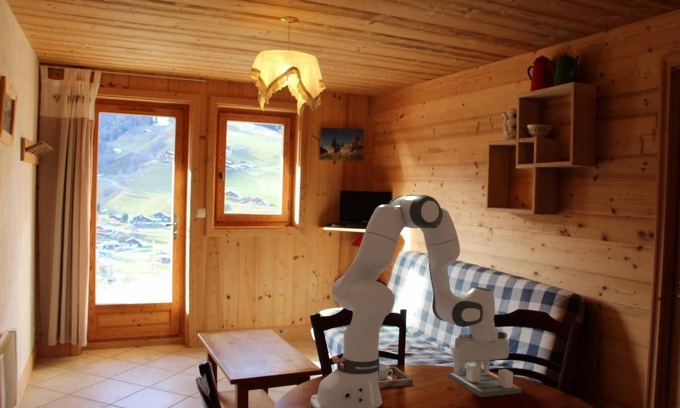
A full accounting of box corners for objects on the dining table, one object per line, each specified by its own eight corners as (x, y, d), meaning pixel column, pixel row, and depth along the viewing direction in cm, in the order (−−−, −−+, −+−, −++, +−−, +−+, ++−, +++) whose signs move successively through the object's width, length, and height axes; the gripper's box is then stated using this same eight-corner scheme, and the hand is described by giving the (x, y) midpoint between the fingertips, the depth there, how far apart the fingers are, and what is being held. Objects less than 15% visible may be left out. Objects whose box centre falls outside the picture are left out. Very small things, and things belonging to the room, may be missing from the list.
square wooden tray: (372, 388, 186) (372, 382, 186) (357, 374, 200) (357, 369, 200) (412, 384, 190) (412, 379, 190) (394, 371, 204) (395, 366, 204)
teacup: (361, 382, 193) (362, 368, 193) (368, 373, 202) (368, 361, 202) (389, 385, 190) (390, 372, 190) (395, 376, 199) (395, 363, 199)
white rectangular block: (472, 382, 188) (472, 367, 188) (466, 378, 192) (466, 364, 192) (479, 381, 189) (480, 367, 189) (473, 377, 193) (474, 363, 193)
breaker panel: (480, 397, 180) (480, 377, 180) (448, 377, 200) (448, 359, 200) (521, 392, 185) (522, 373, 185) (486, 373, 205) (486, 356, 205)
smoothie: (448, 373, 204) (449, 335, 204) (453, 368, 210) (454, 332, 210) (465, 376, 201) (466, 338, 201) (470, 371, 207) (471, 334, 207)
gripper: (460, 337, 185) (459, 378, 186) (511, 333, 192) (511, 372, 192) (450, 333, 191) (450, 372, 192) (500, 329, 198) (500, 367, 198)
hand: (481, 372), depth 192 cm, fingers closed
